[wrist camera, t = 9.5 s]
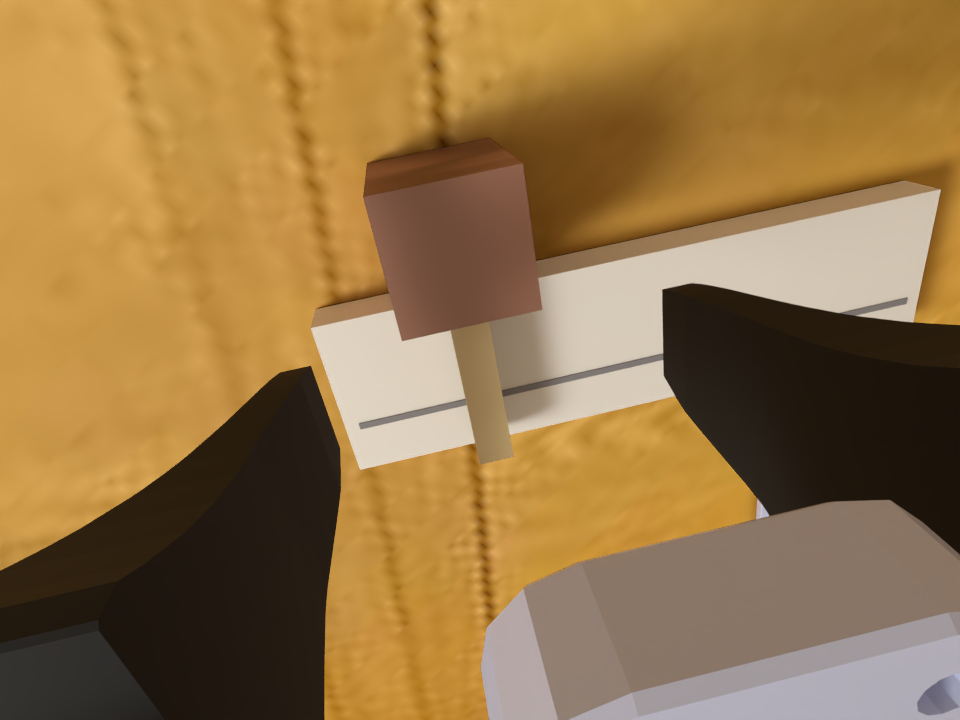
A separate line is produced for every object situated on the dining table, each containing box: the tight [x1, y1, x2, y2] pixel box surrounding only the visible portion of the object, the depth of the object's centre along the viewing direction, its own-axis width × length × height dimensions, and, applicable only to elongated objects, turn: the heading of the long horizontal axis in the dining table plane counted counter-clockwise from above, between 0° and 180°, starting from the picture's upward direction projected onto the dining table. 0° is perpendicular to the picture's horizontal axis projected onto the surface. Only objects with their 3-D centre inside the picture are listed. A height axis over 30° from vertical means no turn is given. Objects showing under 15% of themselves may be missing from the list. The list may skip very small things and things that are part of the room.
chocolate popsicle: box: [363, 138, 542, 464], centre depth 19 cm, size 4×10×5 cm, turn 10°
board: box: [311, 180, 941, 470], centre depth 22 cm, size 22×6×2 cm, turn 100°
